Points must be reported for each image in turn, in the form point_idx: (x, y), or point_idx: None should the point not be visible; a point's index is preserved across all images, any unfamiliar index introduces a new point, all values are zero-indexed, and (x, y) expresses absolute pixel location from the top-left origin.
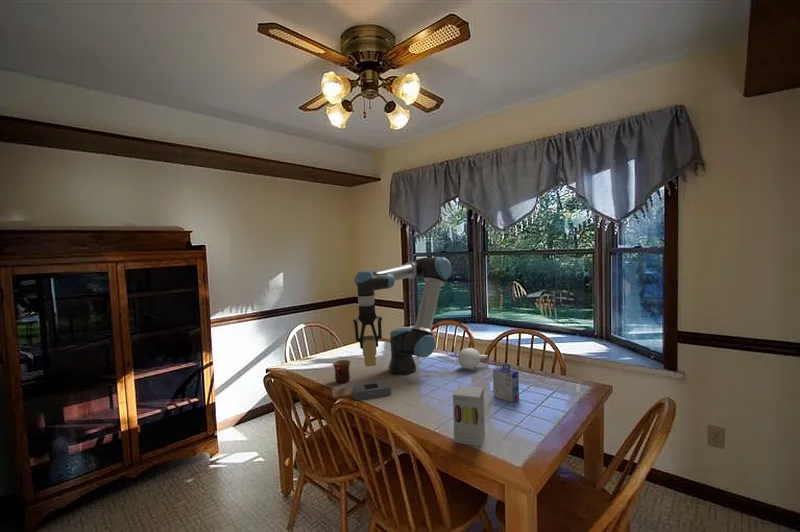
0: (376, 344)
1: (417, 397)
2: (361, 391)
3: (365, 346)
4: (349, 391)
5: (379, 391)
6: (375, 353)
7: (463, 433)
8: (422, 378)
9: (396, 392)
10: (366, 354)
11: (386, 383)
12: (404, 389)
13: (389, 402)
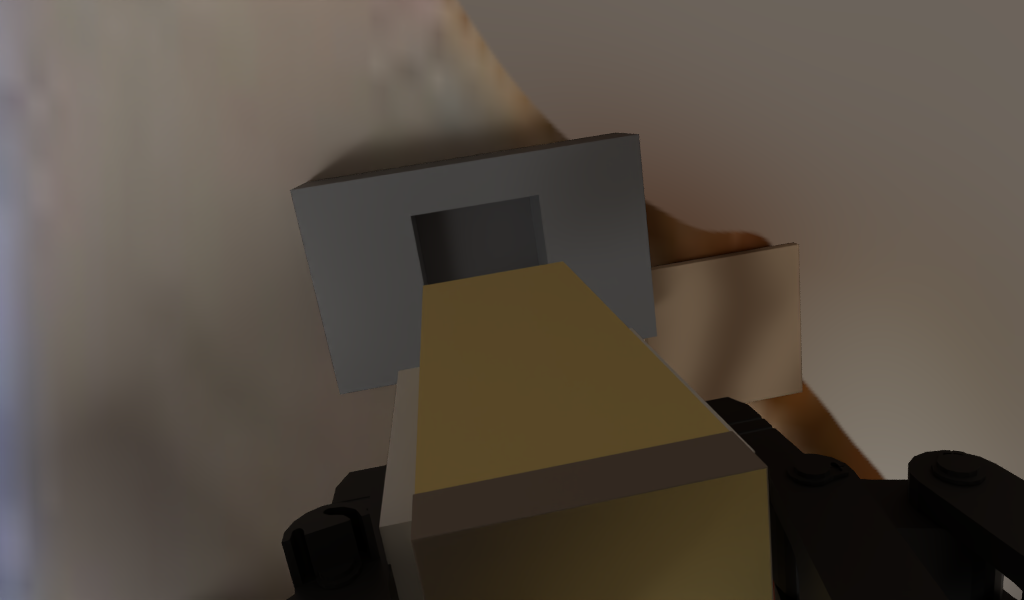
0: (375, 499)
1: (43, 100)
2: (580, 153)
3: (653, 366)
4: (665, 332)
5: (405, 170)
6: (417, 375)
7: None
8: (5, 533)
9: (254, 258)
10: (591, 313)
11: (332, 309)
12: (178, 312)
13: (319, 44)
